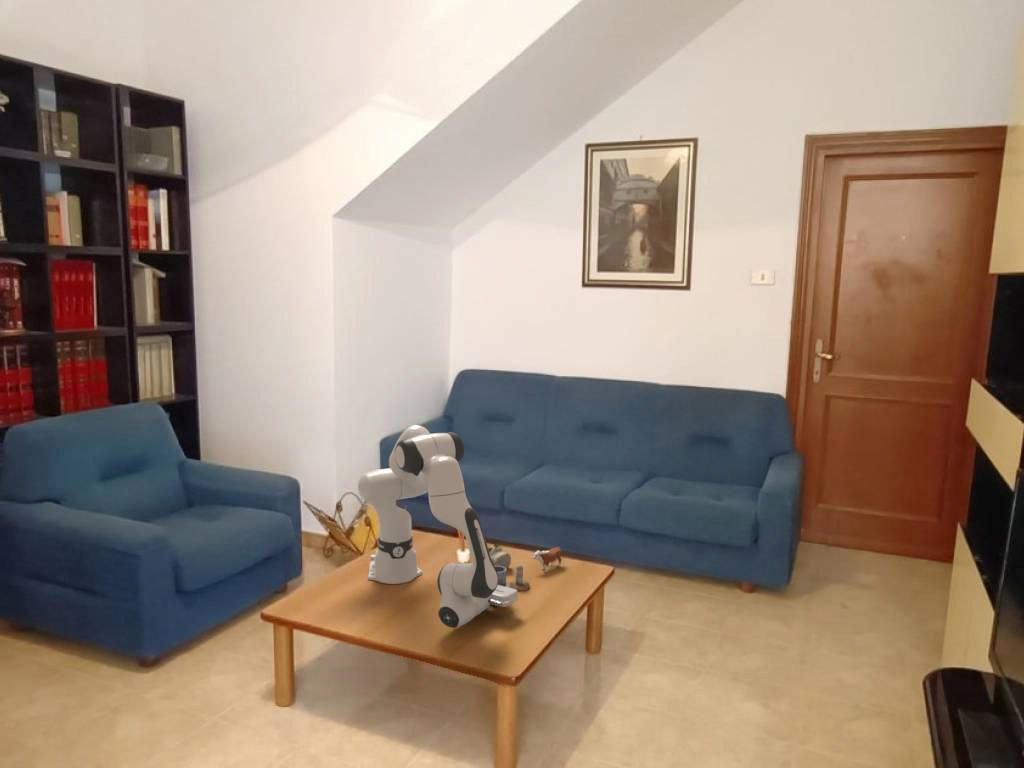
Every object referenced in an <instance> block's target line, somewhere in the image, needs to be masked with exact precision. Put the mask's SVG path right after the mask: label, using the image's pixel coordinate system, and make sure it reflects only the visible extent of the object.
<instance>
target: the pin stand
mask: <svg viewBox="0 0 1024 768" xmlns="http://www.w3.org/2000/svg"><path fill="white" fill-rule="evenodd" d="M508 583H510V588H513V589H516V590H517V592H524V591H527V590H529V589H530V583H529V581H527V580H524V567H523V565H521V564H518V565H517V566H516V567H515V579H514V580H511V581H509V582H508Z"/></svg>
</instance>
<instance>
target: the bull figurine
mask: <svg viewBox="0 0 1024 768" xmlns="http://www.w3.org/2000/svg"><path fill="white" fill-rule="evenodd" d="M561 557H562V549H561V548H560V546H557V547H554V548H551V549H548V550H542V551H540V550H536V551H535V552H534V555H533V556H532V559H533V560H536V561H539V563H540V564H541V566H542V568H541V571H543V573H544V574H547V573H548V568H549V567H550V568H551V567H553V564H554V563H556V561H558V566H557V567H558V568H561V565H562V564H561V563H562V558H561Z"/></svg>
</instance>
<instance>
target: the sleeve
mask: <svg viewBox="0 0 1024 768" xmlns="http://www.w3.org/2000/svg"><path fill="white" fill-rule="evenodd" d="M494 567H495V569H496V572H497V575H498V585H501V586H504V584H505V583H507V569H506V568H505V567H503V566H494ZM490 605H492V604H490ZM492 606H493V605H492Z"/></svg>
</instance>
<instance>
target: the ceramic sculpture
mask: <svg viewBox="0 0 1024 768" xmlns="http://www.w3.org/2000/svg"><path fill="white" fill-rule="evenodd" d="M488 550H489V553H490V557H491V560H492V563H493V565H494V566H503V567H505V568H506V570H507V569H508V568H509V567H510V566H511V564H512V563H511V562H512V557H511V554H510V553H508V552H504V550H503V549H502V547H501V546H500V545H498V544H496V543H495V544H494V545H491V546H488Z"/></svg>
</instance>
